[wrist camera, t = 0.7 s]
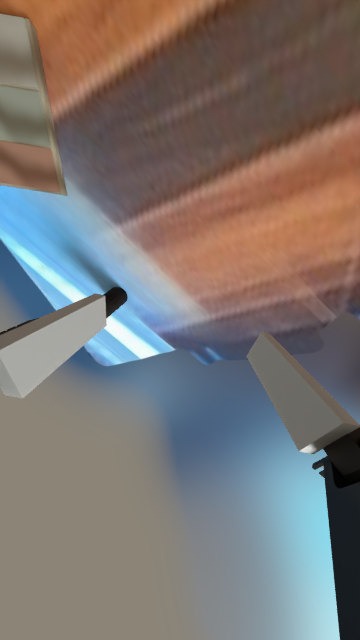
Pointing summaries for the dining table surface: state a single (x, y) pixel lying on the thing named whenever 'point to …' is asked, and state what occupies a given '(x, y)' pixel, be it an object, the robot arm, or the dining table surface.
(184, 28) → the dining table surface
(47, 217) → the dining table surface
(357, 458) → the robot arm
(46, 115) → the board
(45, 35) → the dining table surface
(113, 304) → the black screwdriver
